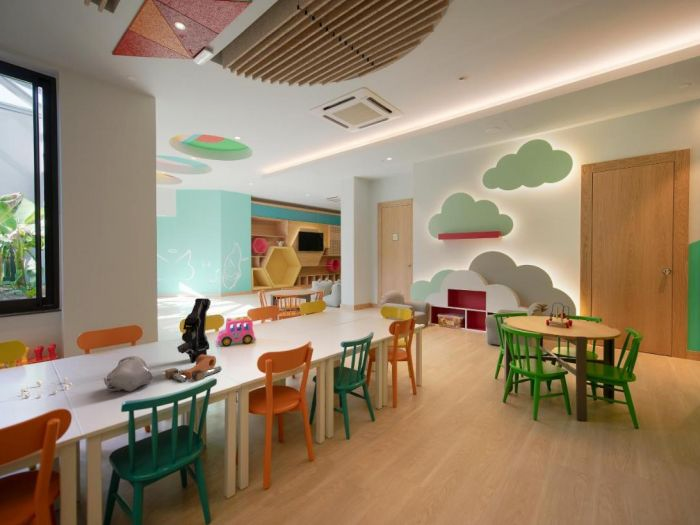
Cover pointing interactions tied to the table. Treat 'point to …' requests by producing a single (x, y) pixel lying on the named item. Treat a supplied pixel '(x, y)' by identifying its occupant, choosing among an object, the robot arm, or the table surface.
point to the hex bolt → (174, 375)
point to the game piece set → (40, 385)
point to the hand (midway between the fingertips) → (192, 363)
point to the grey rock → (128, 375)
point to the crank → (201, 365)
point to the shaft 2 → (204, 373)
